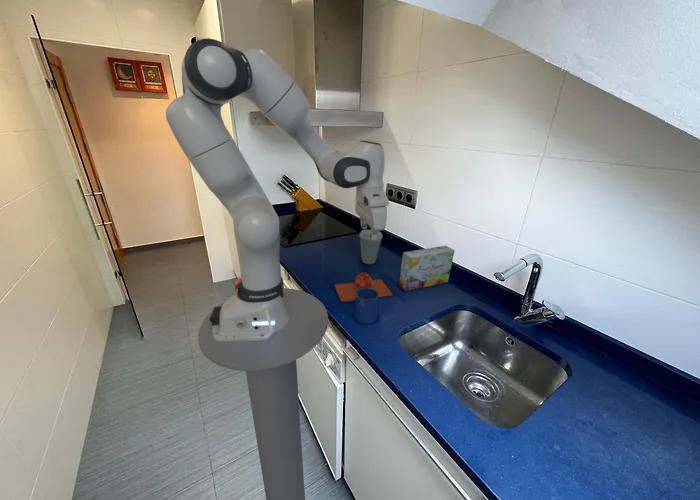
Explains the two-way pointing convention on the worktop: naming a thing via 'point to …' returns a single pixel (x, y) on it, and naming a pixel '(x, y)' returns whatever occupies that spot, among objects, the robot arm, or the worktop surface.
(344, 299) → the red mat
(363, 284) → the pomegranate
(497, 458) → the worktop surface
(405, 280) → the snack box
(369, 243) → the disposable coffee cup
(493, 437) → the worktop surface
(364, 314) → the blue cup
